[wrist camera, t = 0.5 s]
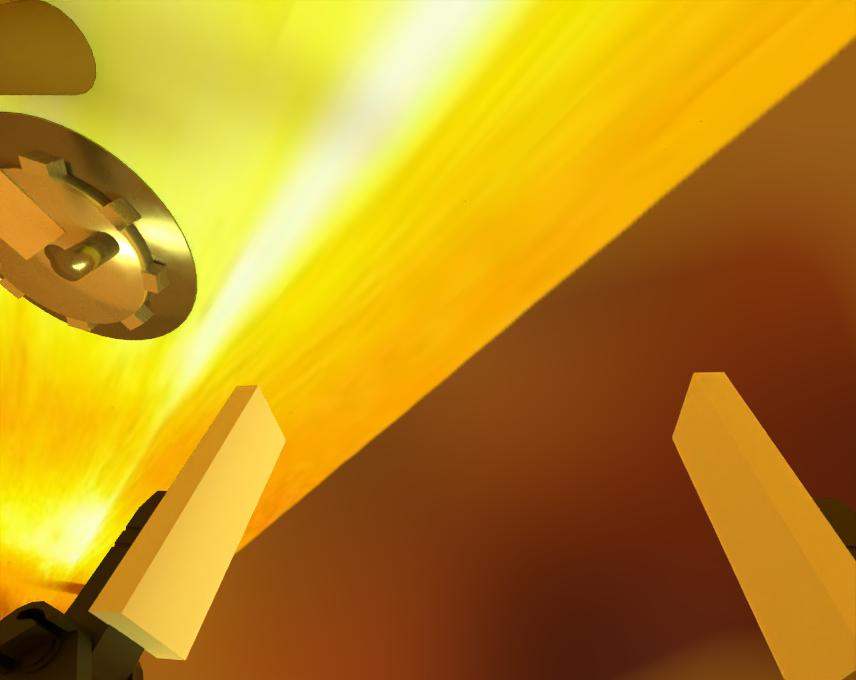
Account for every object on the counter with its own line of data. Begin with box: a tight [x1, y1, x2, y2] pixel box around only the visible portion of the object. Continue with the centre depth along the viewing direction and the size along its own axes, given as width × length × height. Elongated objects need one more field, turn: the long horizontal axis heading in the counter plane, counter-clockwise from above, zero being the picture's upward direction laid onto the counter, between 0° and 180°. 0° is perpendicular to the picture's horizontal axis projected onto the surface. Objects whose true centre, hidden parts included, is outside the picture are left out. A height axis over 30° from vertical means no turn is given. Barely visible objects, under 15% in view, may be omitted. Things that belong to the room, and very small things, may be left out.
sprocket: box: [0, 150, 169, 331], centre depth 39 cm, size 19×19×7 cm
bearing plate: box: [0, 112, 197, 340], centre depth 42 cm, size 24×24×1 cm
